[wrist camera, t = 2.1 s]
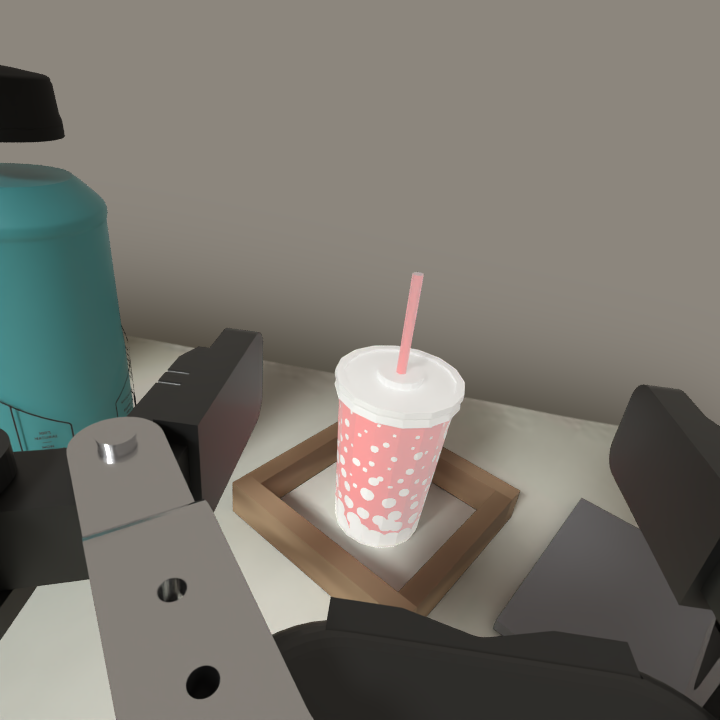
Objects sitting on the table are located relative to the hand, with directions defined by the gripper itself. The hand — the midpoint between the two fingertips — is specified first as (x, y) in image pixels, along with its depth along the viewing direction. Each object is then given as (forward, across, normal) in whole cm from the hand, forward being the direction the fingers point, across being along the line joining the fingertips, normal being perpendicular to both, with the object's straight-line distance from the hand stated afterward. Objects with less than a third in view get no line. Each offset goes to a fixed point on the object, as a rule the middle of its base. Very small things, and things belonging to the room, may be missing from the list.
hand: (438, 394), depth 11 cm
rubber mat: (+7, -13, +15) cm, 21 cm away
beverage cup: (+12, 0, +15) cm, 19 cm away
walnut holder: (+12, 0, +15) cm, 19 cm away
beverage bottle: (+9, +16, +15) cm, 23 cm away
